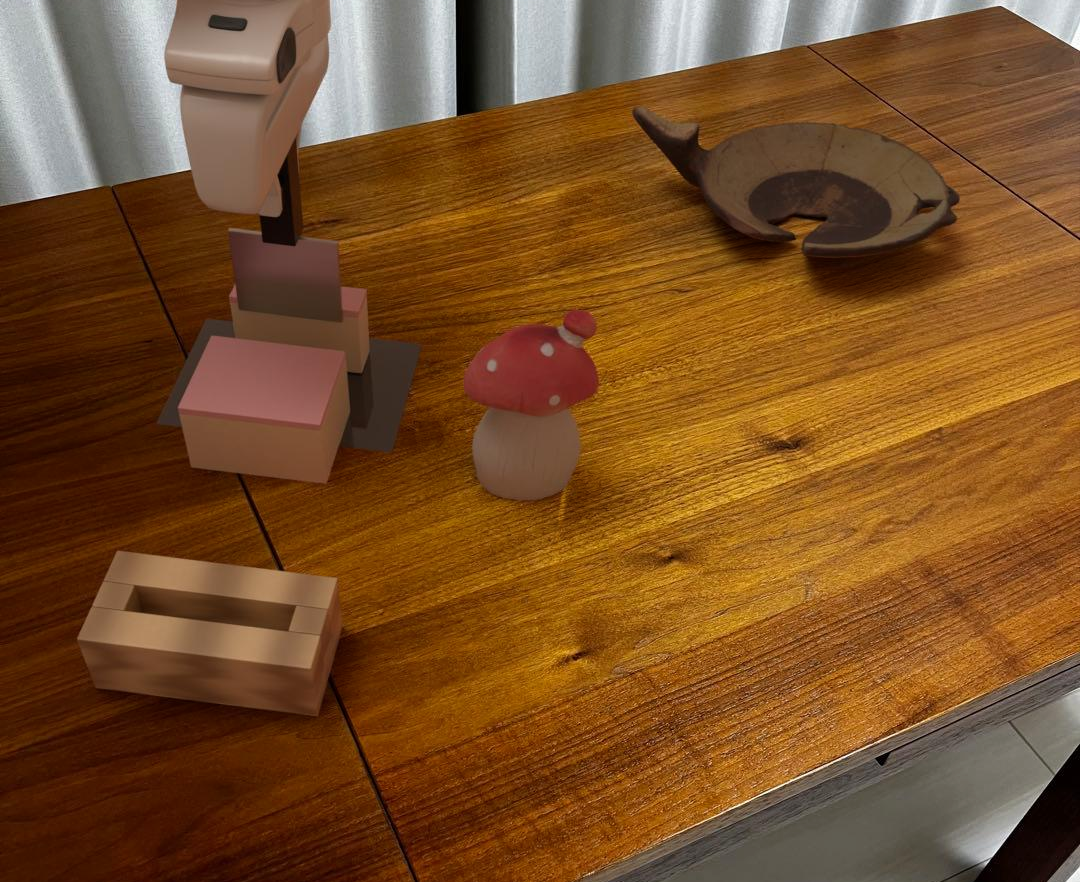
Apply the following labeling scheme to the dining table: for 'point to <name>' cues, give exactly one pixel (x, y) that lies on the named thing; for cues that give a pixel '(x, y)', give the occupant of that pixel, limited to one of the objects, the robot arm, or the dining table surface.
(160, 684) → the knife block
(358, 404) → the cake board
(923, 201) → the broken brown bowl
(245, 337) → the cake slice
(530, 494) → the decorative ornament
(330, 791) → the dining table surface
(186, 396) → the cake
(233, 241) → the knife
